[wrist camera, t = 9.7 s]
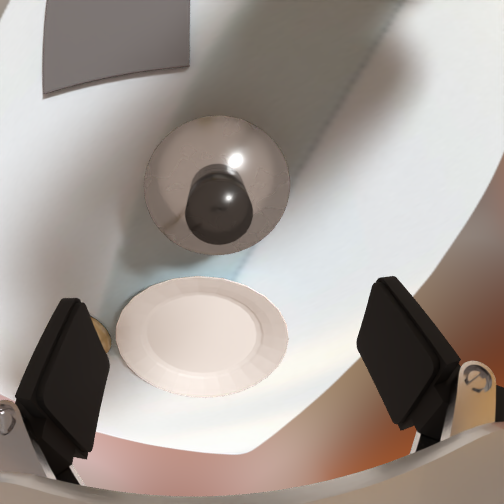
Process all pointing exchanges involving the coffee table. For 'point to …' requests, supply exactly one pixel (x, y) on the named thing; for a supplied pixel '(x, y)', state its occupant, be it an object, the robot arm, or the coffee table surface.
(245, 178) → the lid
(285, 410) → the coffee table surface
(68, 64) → the mat
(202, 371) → the plate
